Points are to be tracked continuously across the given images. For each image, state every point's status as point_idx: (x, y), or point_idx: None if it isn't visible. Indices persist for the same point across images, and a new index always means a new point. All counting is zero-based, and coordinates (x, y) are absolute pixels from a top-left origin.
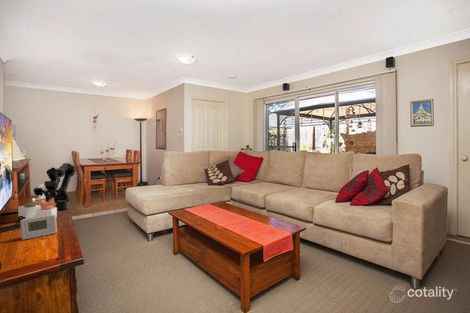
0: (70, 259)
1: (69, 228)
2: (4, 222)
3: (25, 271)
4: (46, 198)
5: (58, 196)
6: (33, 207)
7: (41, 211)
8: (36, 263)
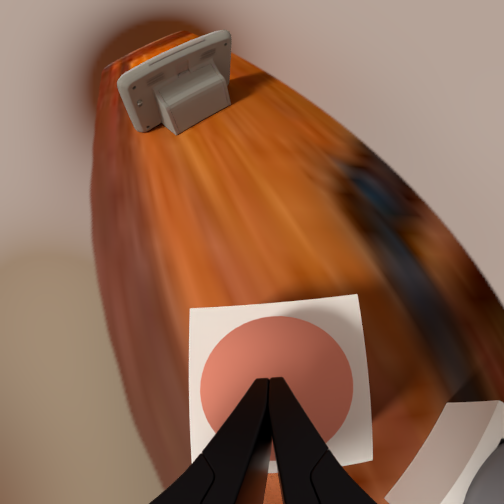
0: (114, 64)
1: (99, 182)
2: (495, 293)
3: (166, 38)
4: (287, 416)
5: None
6: (463, 465)
7: (295, 303)
8: (157, 47)
